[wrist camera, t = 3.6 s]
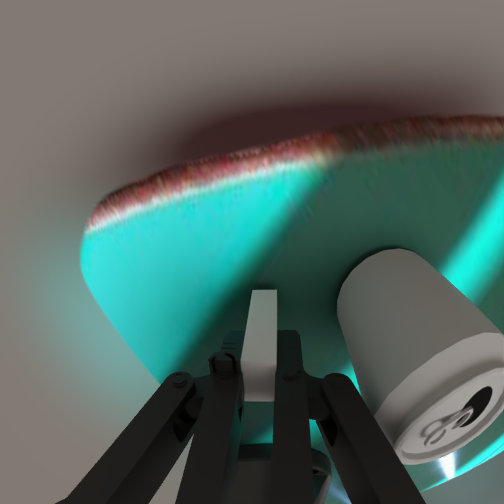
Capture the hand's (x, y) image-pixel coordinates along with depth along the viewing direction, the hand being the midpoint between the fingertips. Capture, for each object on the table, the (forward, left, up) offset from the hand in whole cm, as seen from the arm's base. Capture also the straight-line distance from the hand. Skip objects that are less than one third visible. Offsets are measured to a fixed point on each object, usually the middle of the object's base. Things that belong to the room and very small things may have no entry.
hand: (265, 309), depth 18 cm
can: (0, -8, -2) cm, 9 cm away
